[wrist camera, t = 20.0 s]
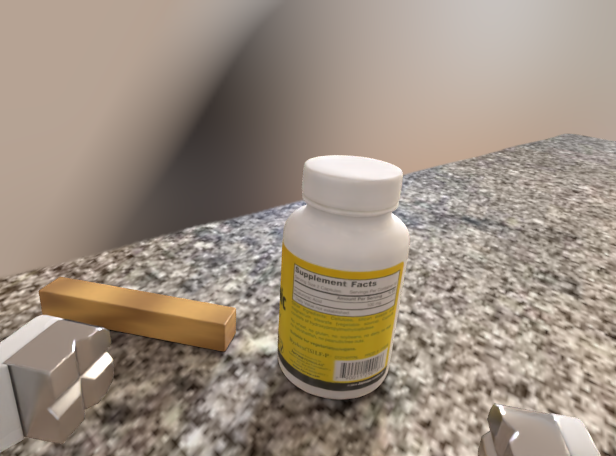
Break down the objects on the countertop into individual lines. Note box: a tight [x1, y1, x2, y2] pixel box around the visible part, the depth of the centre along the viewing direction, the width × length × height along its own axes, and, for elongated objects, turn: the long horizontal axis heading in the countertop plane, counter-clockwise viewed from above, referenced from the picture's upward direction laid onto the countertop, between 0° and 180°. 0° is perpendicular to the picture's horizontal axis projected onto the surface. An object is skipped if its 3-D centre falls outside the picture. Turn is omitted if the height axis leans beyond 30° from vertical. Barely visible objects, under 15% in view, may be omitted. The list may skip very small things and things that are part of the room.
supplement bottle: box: [278, 155, 410, 400], centre depth 19 cm, size 5×5×10 cm
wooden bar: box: [39, 277, 236, 352], centre depth 22 cm, size 10×2×2 cm, turn 79°
